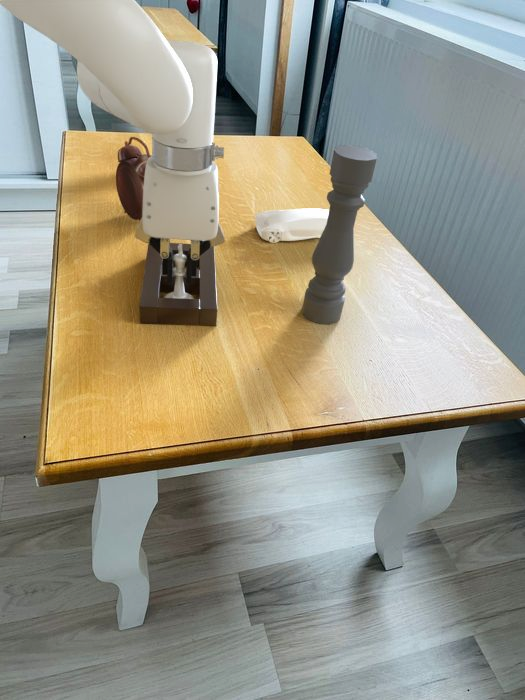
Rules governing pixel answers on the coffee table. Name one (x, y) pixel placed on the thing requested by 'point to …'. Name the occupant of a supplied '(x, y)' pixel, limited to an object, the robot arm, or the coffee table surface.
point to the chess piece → (179, 276)
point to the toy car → (291, 224)
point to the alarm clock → (131, 178)
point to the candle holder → (338, 233)
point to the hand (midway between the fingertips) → (179, 278)
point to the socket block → (202, 284)
